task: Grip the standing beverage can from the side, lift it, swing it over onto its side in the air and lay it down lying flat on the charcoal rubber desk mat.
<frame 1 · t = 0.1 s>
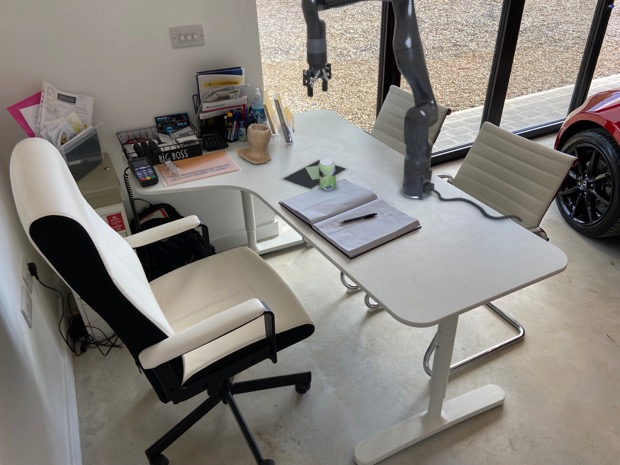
hand: (317, 94, 191), 29 cm above the table, tool pointing down, fingers open, 8 cm apart
beverage can: (327, 189, 187), on the table
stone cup: (257, 159, 213), on the table
desk mat: (315, 174, 198), on the table
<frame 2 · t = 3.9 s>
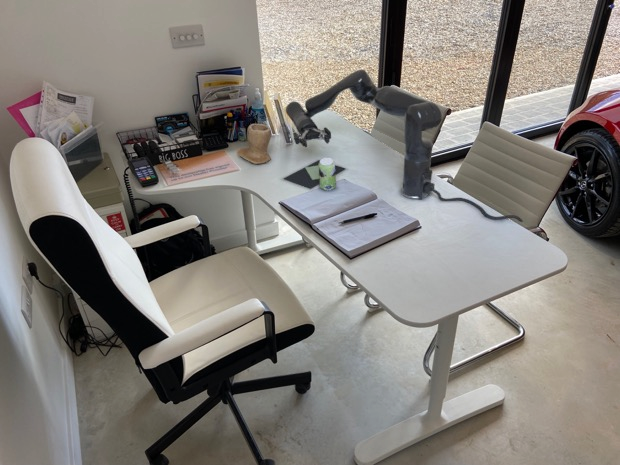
hand: (316, 143, 188), 14 cm above the table, tool horizontal, fingers open, 8 cm apart
nothing on the table moved.
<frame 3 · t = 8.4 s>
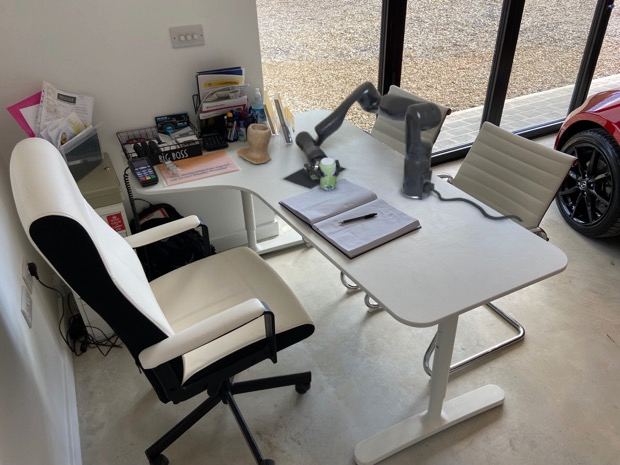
hand: (328, 175, 181), 7 cm above the table, tool horizontal, fingers closed on beverage can, 5 cm apart
beverage can: (327, 189, 187), on the table, touching gripper
everything else where it was.
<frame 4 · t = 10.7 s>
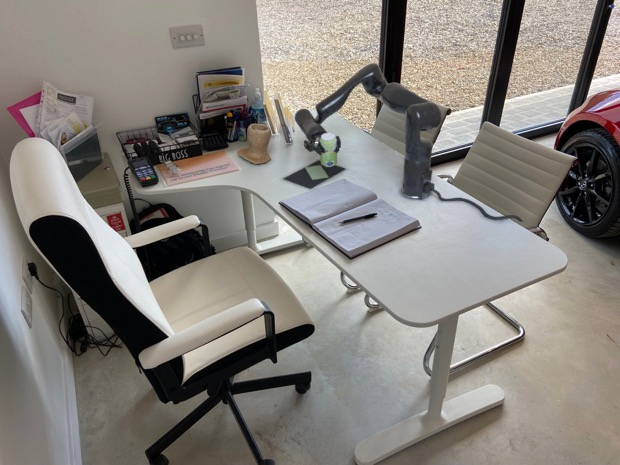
hand: (328, 151, 176), 16 cm above the table, tool horizontal, fingers closed on beverage can, 5 cm apart
beverage can: (328, 165, 182), point 9 cm above the table, touching gripper
everything else where it was.
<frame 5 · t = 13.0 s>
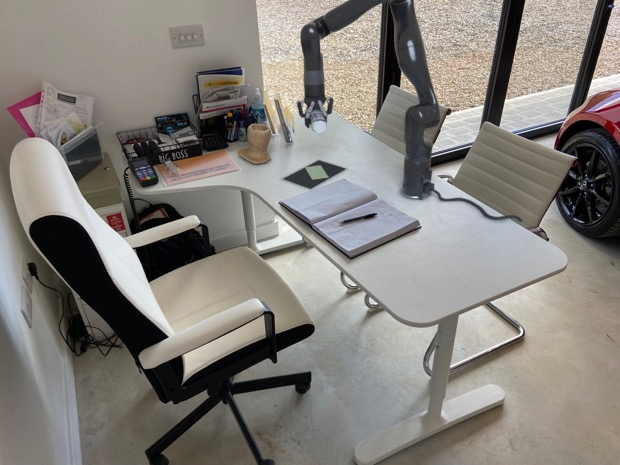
hand: (316, 126, 188), 20 cm above the table, tool pointing down, fingers closed on beverage can, 5 cm apart
beverage can: (312, 115, 193), point 22 cm above the table, touching gripper
everything else where it was.
when the fingers open (2 cm above the table, at t = 16.6 s): beverage can moves 1 cm, resting on desk mat.
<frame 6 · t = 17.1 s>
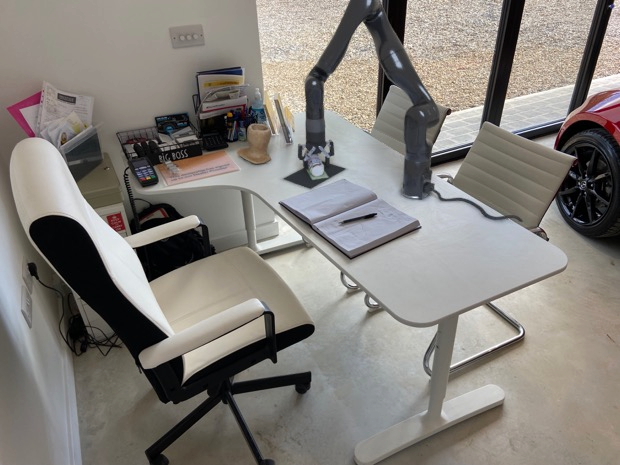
hand: (316, 167, 197), 3 cm above the table, tool pointing down, fingers open, 8 cm apart
beverage can: (309, 157, 202), point 4 cm above the table, touching desk mat
everything else where it was.
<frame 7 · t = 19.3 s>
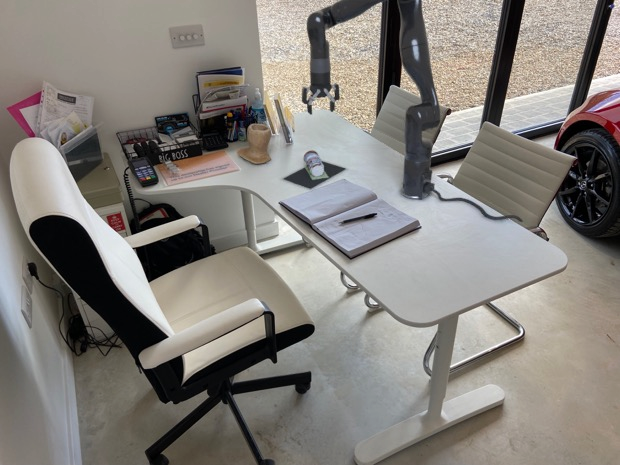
hand: (321, 112, 191), 23 cm above the table, tool pointing down, fingers open, 8 cm apart
nothing on the table moved.
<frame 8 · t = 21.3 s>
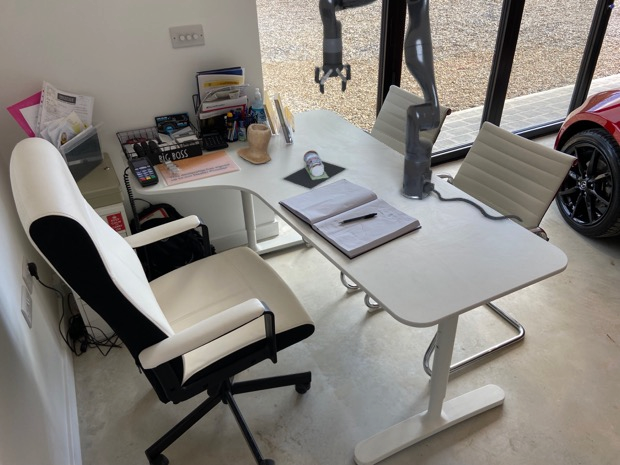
hand: (332, 92, 196), 28 cm above the table, tool pointing down, fingers open, 8 cm apart
nothing on the table moved.
at the end: beverage can tilted 90°; beverage can inside the target area (7.5 cm from its centre), point 4.2 cm above the table; the gripper is holding nothing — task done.
